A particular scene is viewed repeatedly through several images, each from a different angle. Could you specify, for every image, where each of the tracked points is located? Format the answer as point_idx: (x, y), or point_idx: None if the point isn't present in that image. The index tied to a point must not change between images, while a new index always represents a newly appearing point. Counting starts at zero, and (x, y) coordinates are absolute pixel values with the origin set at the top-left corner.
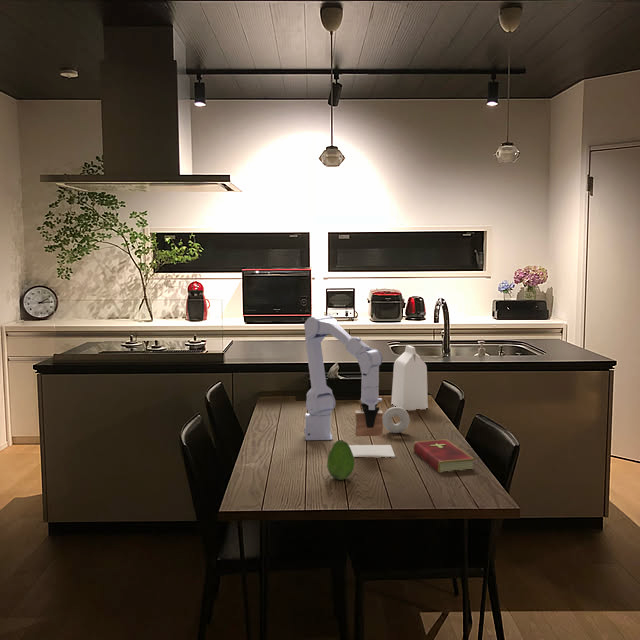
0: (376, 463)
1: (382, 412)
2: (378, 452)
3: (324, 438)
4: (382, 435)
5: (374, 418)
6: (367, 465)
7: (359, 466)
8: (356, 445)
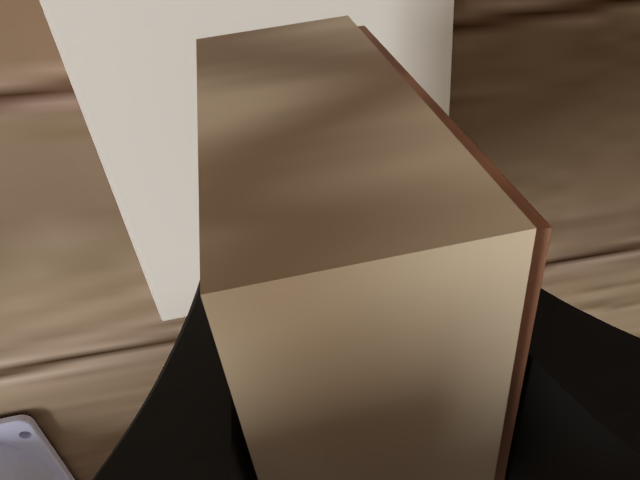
0: (596, 19)
1: (491, 244)
2: (330, 14)
3: (38, 456)
4: (351, 20)
5: (561, 311)
6: (625, 95)
7: (630, 152)
8: (143, 239)
